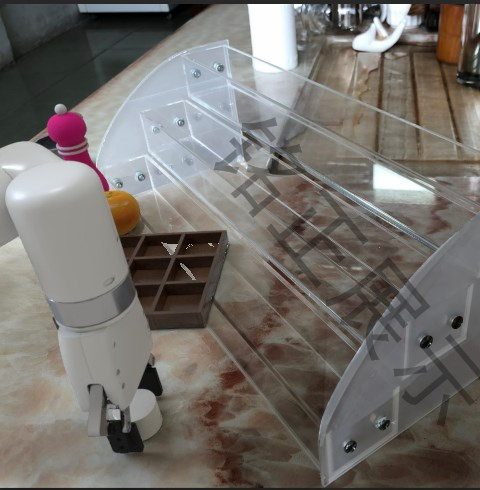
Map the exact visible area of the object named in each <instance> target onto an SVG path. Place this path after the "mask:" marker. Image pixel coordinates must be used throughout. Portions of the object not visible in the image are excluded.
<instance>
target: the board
mask: <svg viewBox="0 0 480 490" xmlns="http://www.w3.org/2000/svg"><path fill="white" fill-rule="evenodd" d="M119 239H120V242H121V245H122V248H123V251H124V254H125V258H126V261H127V264H128V267H129V270H130V273H131V276H132V279H133V282H134V285H135V288H136V291H137V297H138V299H139V301H140V304H141V306H142V308H143V311H144V314H145V316H146V317H148V319H149V328H150V330H172V329H173V330H174V329H198V328H205V327H206V323H207V320H208V318H209V314H210V309H211V307H212V304H213V301H212V302H211V297H212V296H213V295H214V296H215V293H216V290H217V286H218V283H219V280H220V276H221V273H220V272H222V269H223V266H222V265H224V263H223V260H224V261H225V259H224V256H225V252H226V249H227V245H228V242H229V243H230V240H229V235H228V231H227V230H226V229H218V230H217V229H214V230H198V231H197V230H195V231H175V232H156V233H155V232H154V233H152V232H151V233H136V234H135V233H134V234H133V233H132V234H124V235H119ZM161 242H163V243H167V244H178V245H177V247H176V249H175V252H174V254H173V255H170V254H169V252H168V251H167V249H166V248H165V247H164V246H163V244H162V243H161ZM208 243H212V245H213V246H214V247H213V246H210V245H209V244H208ZM218 243H219V244H218ZM189 244H190V245H189ZM191 244H192V245H193V246H192V245H191ZM188 245H189V246H190V247H189V246H188ZM187 247H188V248H187ZM186 248H187V249H186ZM227 250H228V249H227ZM226 253H227V252H226ZM225 257H226V256H225ZM180 263H182V264H184V265H185V266H186V267H187V268H188V269H189V270H190V271H191V273H192V274H193V276H194V277H195V279H196V280H192V278H191V277H190V276H189V275H188V274H187V273H186V271H185V270H184V269H183V268H182V267H181V265H180ZM221 268H222V269H221ZM219 275H220V276H219ZM218 279H219V280H218ZM215 289H216V290H215ZM52 320H53V323H54V325H55V327H56V330H58V329H59V327H60V326H59V325H58V324H57V323H56V320H55V318H54V316H53V317H52Z"/></svg>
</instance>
